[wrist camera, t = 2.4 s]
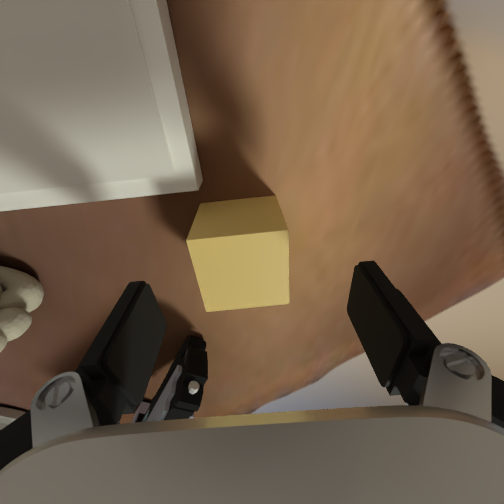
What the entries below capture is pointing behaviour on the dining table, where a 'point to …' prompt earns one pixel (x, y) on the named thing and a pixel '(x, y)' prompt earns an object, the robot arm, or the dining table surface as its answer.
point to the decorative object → (17, 303)
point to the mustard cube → (240, 253)
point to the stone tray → (91, 103)
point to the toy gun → (179, 386)
